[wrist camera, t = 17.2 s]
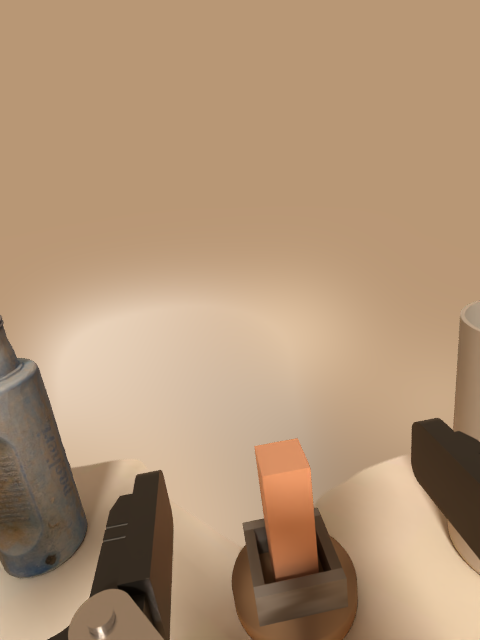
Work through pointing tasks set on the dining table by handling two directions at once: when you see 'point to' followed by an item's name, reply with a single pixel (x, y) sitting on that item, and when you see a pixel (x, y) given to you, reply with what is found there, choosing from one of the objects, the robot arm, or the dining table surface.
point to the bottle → (33, 474)
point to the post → (287, 509)
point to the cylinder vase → (467, 400)
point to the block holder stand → (294, 591)
